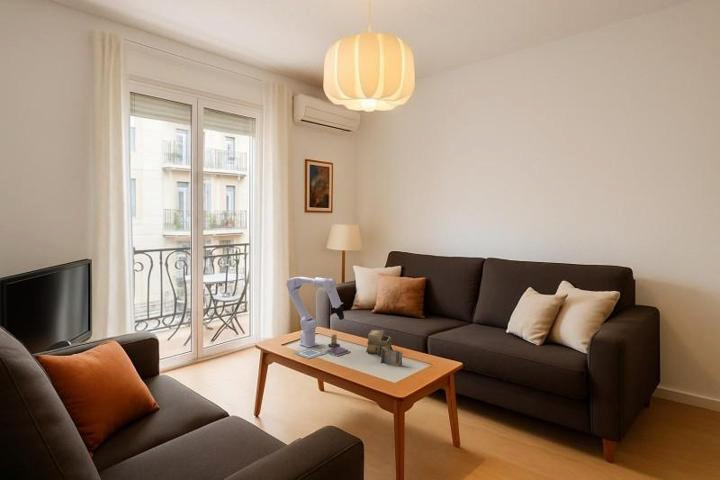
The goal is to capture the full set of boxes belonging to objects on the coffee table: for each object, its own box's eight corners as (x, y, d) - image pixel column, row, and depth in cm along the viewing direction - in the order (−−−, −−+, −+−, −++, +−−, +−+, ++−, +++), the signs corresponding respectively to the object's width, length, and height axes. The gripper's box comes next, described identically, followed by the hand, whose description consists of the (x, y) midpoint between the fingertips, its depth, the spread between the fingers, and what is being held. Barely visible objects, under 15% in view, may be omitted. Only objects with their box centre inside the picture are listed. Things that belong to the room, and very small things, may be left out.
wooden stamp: (328, 346, 262) (328, 334, 261) (334, 344, 265) (334, 333, 265) (333, 348, 258) (333, 336, 258) (339, 346, 262) (339, 334, 261)
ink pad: (324, 352, 250) (324, 350, 250) (338, 348, 258) (338, 345, 258) (337, 356, 243) (337, 354, 242) (350, 352, 250) (350, 350, 250)
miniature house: (364, 354, 246) (364, 335, 245) (369, 347, 260) (369, 329, 259) (389, 356, 242) (389, 337, 242) (393, 349, 256) (393, 330, 255)
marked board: (293, 353, 248) (293, 352, 248) (311, 348, 258) (311, 347, 258) (308, 359, 239) (308, 358, 238) (326, 353, 248) (326, 353, 248)
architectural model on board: (380, 363, 233) (380, 346, 232) (383, 362, 235) (383, 344, 235) (399, 367, 227) (399, 349, 226) (401, 365, 230) (401, 348, 229)
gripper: (339, 295, 247) (348, 317, 245) (341, 295, 261) (349, 316, 260) (328, 299, 247) (336, 321, 245) (330, 299, 261) (338, 320, 259)
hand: (342, 319), depth 252 cm, fingers open, 7 cm apart
